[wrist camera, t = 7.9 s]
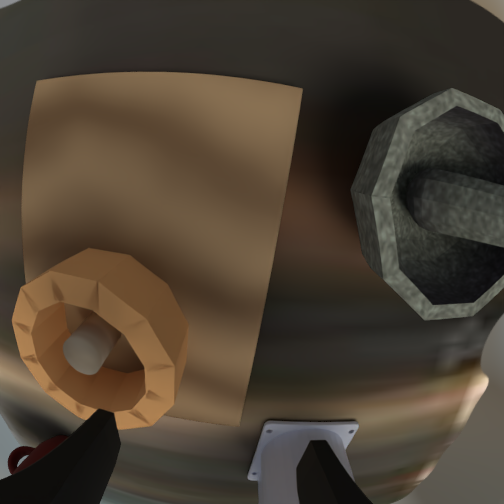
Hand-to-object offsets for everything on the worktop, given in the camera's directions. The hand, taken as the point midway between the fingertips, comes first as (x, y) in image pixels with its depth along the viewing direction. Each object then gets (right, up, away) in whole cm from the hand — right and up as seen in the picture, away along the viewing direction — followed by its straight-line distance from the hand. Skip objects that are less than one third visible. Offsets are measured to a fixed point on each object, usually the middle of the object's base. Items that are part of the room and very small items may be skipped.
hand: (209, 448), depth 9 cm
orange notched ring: (-7, +2, +8) cm, 11 cm away
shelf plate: (-6, +6, +8) cm, 12 cm away
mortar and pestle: (+11, +11, +7) cm, 17 cm away
